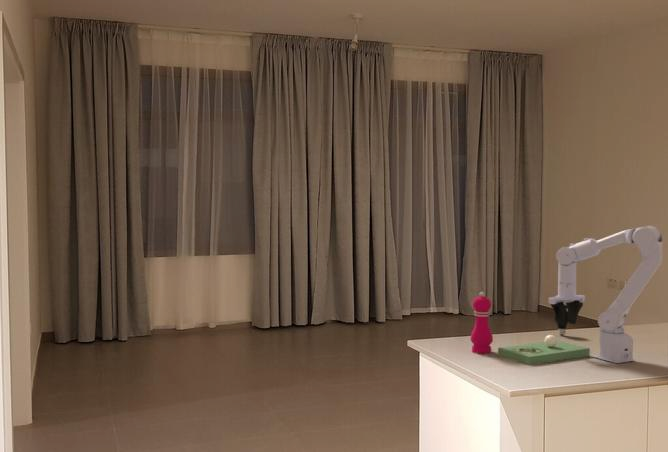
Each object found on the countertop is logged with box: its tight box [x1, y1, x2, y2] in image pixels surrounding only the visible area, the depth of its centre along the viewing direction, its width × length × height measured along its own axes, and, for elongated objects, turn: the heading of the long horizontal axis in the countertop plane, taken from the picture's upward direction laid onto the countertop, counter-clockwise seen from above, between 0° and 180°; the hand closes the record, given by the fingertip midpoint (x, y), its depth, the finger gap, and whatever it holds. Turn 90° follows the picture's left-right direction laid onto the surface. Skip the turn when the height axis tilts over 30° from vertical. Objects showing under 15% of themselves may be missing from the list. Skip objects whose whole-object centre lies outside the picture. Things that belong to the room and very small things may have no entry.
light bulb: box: [553, 309, 569, 337], centre depth 248 cm, size 6×6×10 cm
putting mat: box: [497, 339, 591, 366], centre depth 216 cm, size 14×26×2 cm, turn 117°
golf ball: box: [543, 334, 558, 347], centre depth 217 cm, size 4×4×4 cm
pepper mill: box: [470, 291, 494, 355], centre depth 221 cm, size 7×7×20 cm
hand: (566, 324), depth 220 cm, fingers open, 4 cm apart
